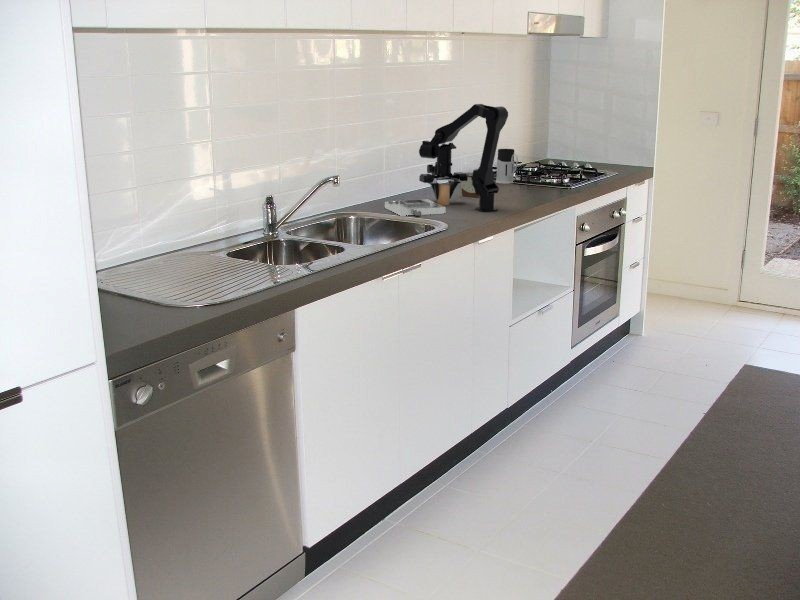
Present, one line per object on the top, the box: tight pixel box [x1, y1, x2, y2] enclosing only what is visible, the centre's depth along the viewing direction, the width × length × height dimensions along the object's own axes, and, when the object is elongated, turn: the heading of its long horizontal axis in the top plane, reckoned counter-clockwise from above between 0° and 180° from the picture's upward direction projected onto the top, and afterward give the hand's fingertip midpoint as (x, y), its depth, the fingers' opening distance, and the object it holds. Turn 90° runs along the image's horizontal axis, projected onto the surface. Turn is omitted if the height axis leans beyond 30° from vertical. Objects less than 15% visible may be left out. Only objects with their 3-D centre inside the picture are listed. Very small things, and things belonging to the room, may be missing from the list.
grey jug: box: [495, 148, 519, 185], centre depth 405 cm, size 9×14×15 cm, turn 24°
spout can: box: [436, 182, 451, 206], centre depth 353 cm, size 7×5×8 cm
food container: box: [460, 171, 479, 200], centre depth 368 cm, size 12×6×10 cm, turn 59°
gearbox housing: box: [384, 198, 447, 217], centre depth 337 cm, size 21×18×4 cm
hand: (443, 199), depth 352 cm, fingers closed on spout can, 5 cm apart
